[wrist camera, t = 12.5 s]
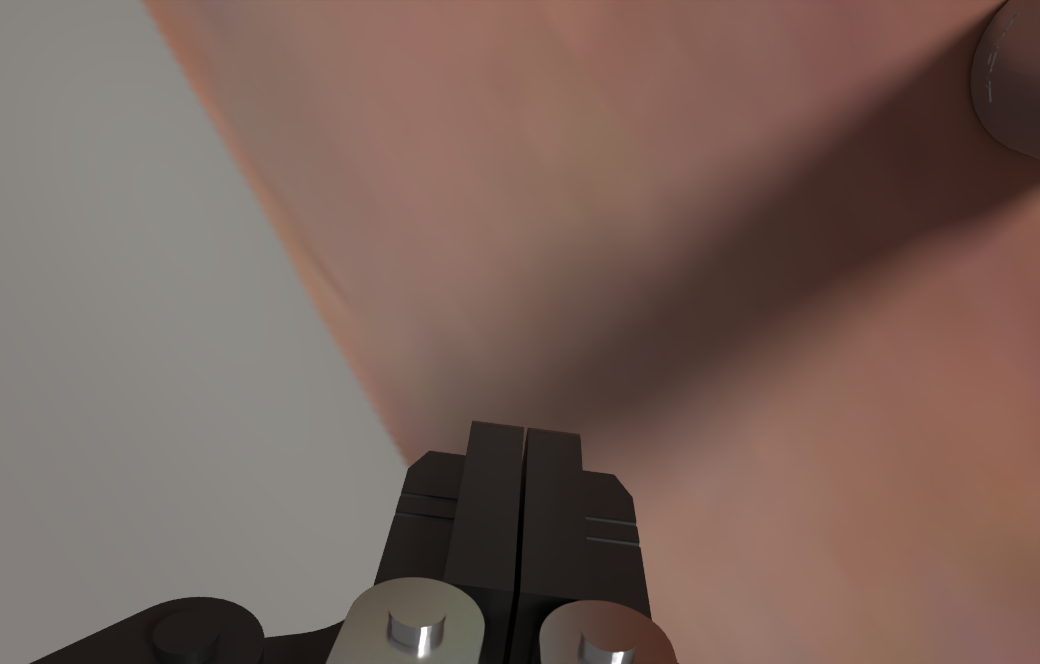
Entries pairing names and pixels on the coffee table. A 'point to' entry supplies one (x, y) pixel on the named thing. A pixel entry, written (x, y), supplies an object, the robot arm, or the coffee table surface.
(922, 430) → the coffee table surface
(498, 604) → the robot arm
